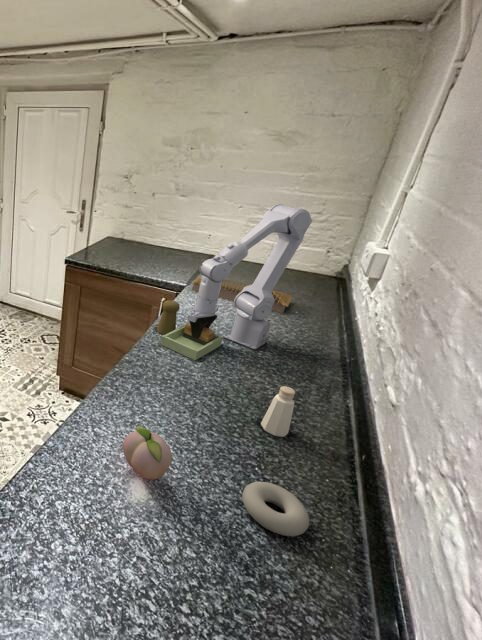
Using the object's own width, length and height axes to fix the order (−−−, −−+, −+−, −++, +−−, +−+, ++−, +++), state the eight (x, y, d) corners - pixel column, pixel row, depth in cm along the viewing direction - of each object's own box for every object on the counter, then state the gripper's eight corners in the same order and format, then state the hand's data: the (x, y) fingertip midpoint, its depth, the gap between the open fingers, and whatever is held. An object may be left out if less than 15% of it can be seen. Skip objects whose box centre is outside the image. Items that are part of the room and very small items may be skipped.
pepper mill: (177, 336, 132) (183, 306, 128) (158, 334, 133) (164, 304, 129) (173, 328, 138) (179, 299, 133) (155, 326, 139) (160, 297, 135)
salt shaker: (288, 440, 88) (304, 400, 84) (260, 431, 91) (273, 391, 86) (287, 426, 92) (302, 387, 88) (260, 417, 95) (273, 379, 91)
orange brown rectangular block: (212, 343, 127) (215, 331, 125) (206, 346, 125) (209, 334, 123) (188, 333, 133) (191, 321, 131) (182, 336, 131) (185, 324, 129)
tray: (220, 345, 127) (222, 337, 126) (195, 360, 118) (197, 351, 117) (186, 331, 136) (188, 323, 134) (160, 344, 127) (162, 335, 126)
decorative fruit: (176, 487, 76) (187, 446, 72) (139, 497, 73) (148, 455, 70) (146, 451, 84) (154, 413, 80) (112, 459, 82) (119, 420, 78)
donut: (277, 489, 76) (228, 491, 75) (282, 476, 75) (233, 478, 74) (320, 539, 67) (265, 542, 66) (327, 525, 65) (271, 528, 64)
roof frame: (290, 303, 160) (295, 289, 158) (285, 314, 150) (290, 300, 148) (199, 281, 182) (202, 269, 179) (189, 290, 172) (192, 276, 169)
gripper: (206, 288, 130) (198, 325, 135) (183, 298, 122) (174, 336, 127) (228, 295, 125) (218, 333, 130) (205, 306, 117) (195, 346, 122)
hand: (198, 335), depth 128 cm, fingers closed on orange brown rectangular block, 3 cm apart
